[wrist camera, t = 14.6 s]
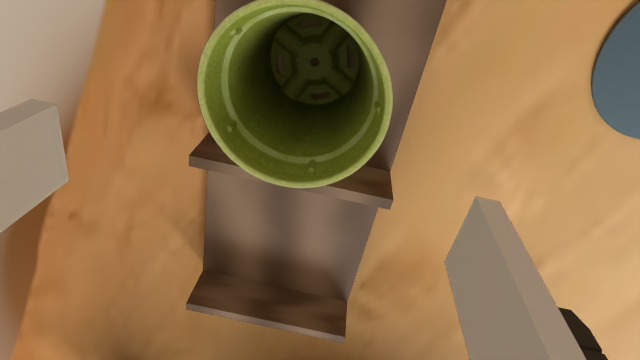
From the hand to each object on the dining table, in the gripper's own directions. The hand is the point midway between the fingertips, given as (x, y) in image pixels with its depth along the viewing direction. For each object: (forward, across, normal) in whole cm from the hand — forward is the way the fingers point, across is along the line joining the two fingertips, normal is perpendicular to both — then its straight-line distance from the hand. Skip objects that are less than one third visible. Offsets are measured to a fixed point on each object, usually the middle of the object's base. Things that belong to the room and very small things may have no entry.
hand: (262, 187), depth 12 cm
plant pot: (+16, 0, 0) cm, 16 cm away
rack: (+17, 0, +7) cm, 19 cm away
